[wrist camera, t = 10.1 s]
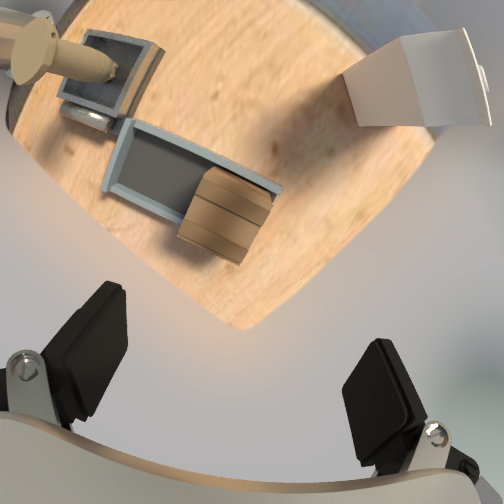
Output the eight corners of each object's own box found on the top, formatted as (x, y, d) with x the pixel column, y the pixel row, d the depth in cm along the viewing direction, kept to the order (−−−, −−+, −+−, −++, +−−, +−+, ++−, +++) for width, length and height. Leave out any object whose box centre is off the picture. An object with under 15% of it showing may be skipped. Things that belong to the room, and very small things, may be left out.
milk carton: (357, 126, 29) (458, 129, 12) (341, 72, 26) (426, 21, 9) (405, 119, 28) (516, 125, 11) (390, 67, 25) (492, 34, 8)
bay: (111, 185, 32) (100, 190, 30) (136, 118, 29) (126, 117, 26) (245, 250, 36) (244, 260, 33) (281, 186, 32) (283, 190, 30)
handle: (96, 100, 26) (12, 94, 13) (90, 60, 24) (11, 39, 10) (128, 85, 26) (49, 64, 12) (121, 43, 23) (48, 7, 10)
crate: (191, 216, 33) (175, 237, 27) (215, 164, 31) (204, 173, 24) (242, 240, 35) (238, 267, 28) (269, 191, 32) (272, 207, 25)
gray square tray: (66, 113, 28) (49, 113, 24) (101, 35, 24) (86, 28, 20) (124, 136, 30) (109, 137, 26) (165, 51, 25) (154, 42, 22)
